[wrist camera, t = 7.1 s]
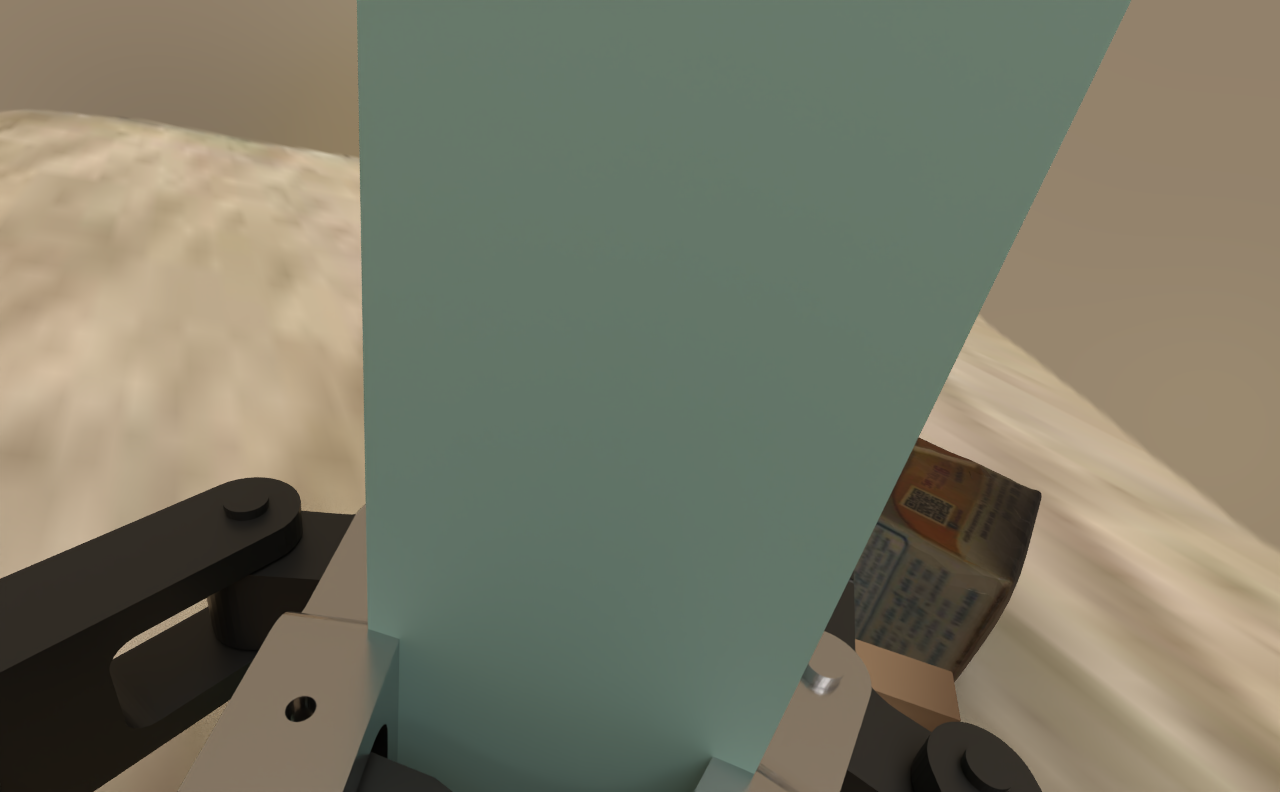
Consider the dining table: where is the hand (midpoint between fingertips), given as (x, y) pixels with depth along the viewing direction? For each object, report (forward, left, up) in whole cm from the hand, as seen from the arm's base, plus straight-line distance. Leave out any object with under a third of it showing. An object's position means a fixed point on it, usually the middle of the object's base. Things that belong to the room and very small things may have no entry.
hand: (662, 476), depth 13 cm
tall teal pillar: (+1, +2, -12) cm, 12 cm away
